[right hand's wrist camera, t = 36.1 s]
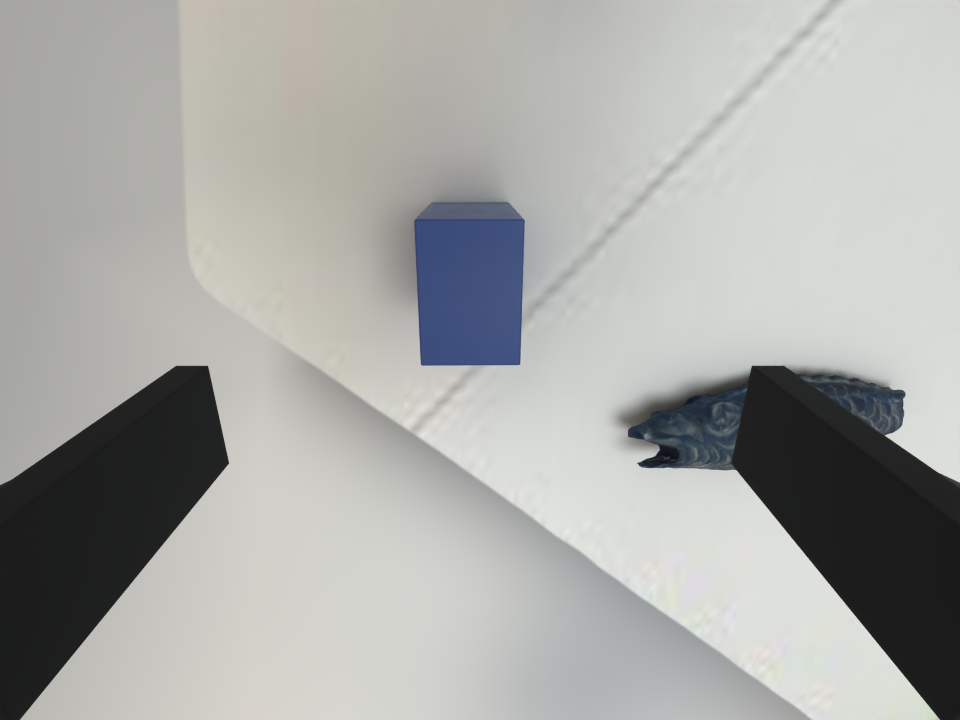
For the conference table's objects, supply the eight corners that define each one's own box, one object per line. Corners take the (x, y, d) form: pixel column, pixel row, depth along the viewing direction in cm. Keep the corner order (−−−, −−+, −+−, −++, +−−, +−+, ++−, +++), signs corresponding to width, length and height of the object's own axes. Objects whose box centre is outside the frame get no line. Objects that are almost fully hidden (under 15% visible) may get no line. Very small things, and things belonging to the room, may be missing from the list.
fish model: (620, 383, 39) (641, 414, 34) (898, 356, 38) (957, 384, 34) (619, 458, 41) (639, 497, 37) (880, 433, 41) (933, 469, 36)
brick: (435, 309, 37) (420, 366, 27) (431, 202, 34) (413, 219, 24) (507, 309, 37) (520, 365, 27) (509, 202, 34) (524, 219, 24)
